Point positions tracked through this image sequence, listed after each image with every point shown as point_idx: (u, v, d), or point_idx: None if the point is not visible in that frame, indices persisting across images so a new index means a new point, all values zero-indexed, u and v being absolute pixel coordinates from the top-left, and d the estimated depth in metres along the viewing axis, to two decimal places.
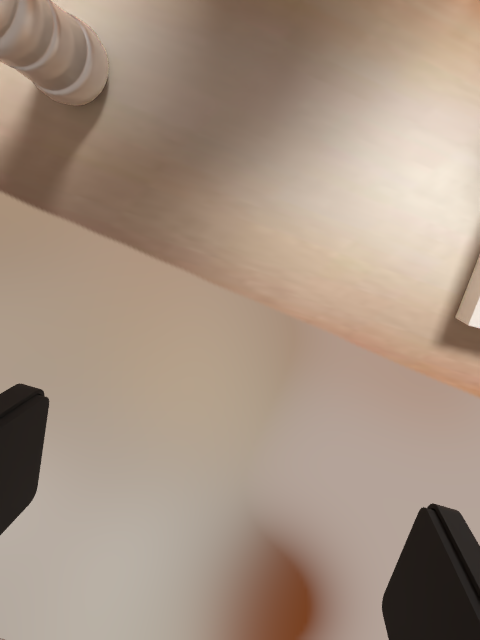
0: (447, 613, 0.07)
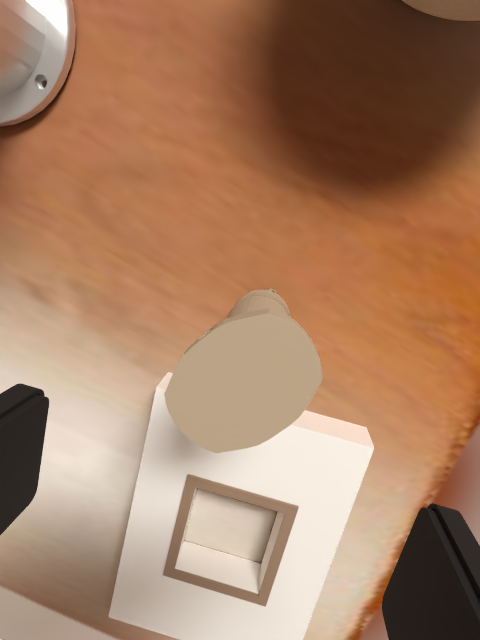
0: (447, 613, 0.07)
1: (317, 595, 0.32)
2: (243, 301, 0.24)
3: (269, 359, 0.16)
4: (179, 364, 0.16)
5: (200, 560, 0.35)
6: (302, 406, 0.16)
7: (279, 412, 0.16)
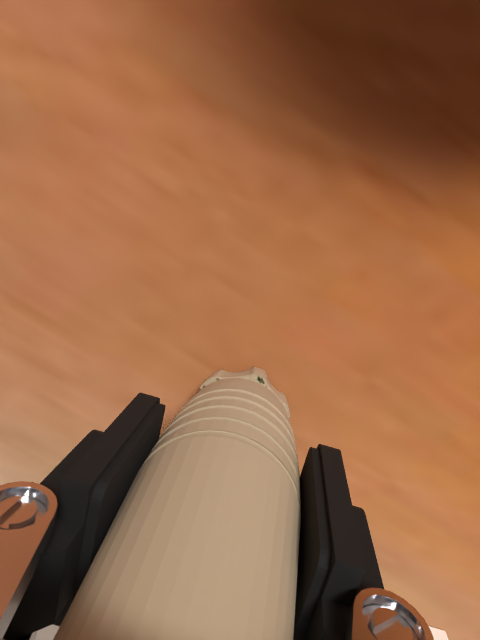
0: (306, 524, 0.09)
1: None
2: (168, 454, 0.09)
3: None
4: None
5: None
6: None
7: None
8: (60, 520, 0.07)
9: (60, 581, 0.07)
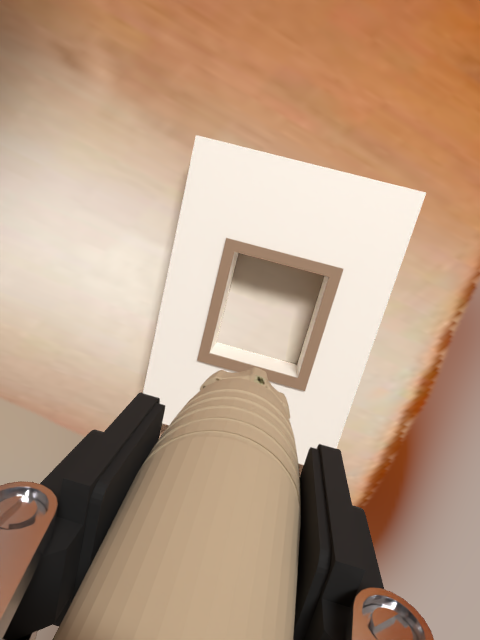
0: (306, 524, 0.09)
1: (360, 375, 0.31)
2: (168, 454, 0.09)
3: None
4: None
5: (234, 353, 0.33)
6: None
7: None
8: (60, 520, 0.07)
9: (60, 581, 0.07)
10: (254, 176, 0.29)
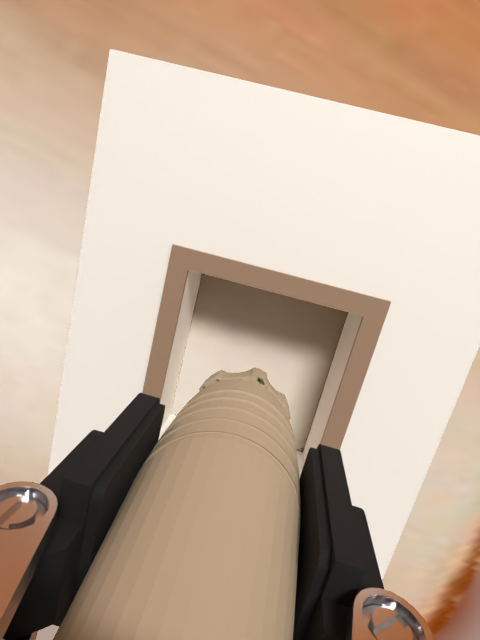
0: (306, 524, 0.09)
1: (416, 488, 0.17)
2: (168, 455, 0.09)
3: None
4: None
5: None
6: None
7: None
8: (60, 520, 0.07)
9: (60, 581, 0.07)
10: (222, 127, 0.15)
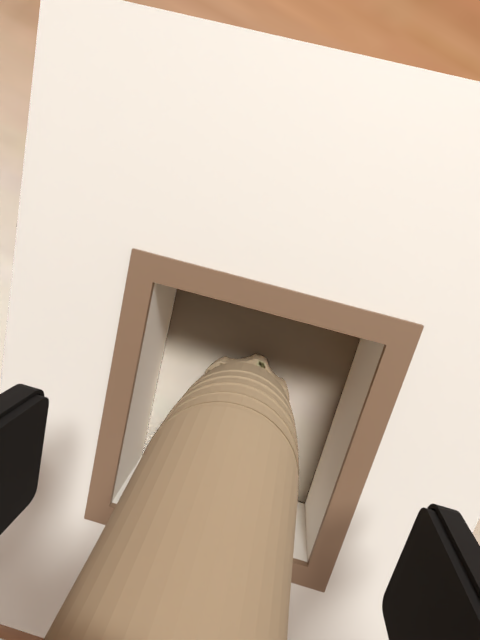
0: (447, 613, 0.07)
1: None
2: (179, 421, 0.10)
3: None
4: None
5: None
6: None
7: None
8: None
9: None
10: (196, 90, 0.11)
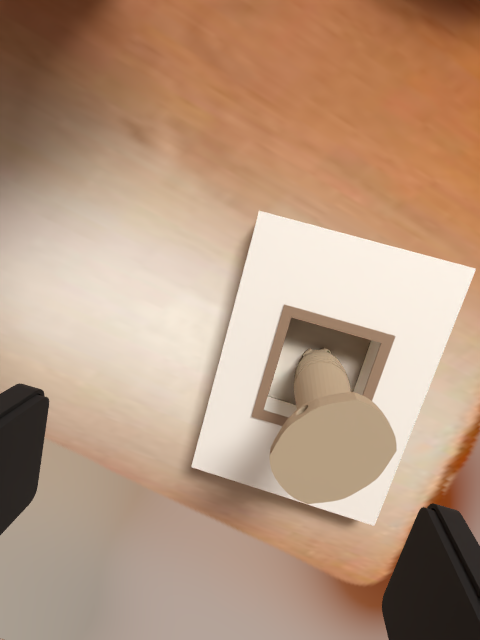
0: (447, 613, 0.07)
1: (408, 435, 0.32)
2: (311, 367, 0.29)
3: (355, 434, 0.20)
4: (283, 434, 0.21)
5: (285, 409, 0.35)
6: (379, 470, 0.21)
7: (360, 474, 0.21)
8: None
9: None
10: (313, 249, 0.31)
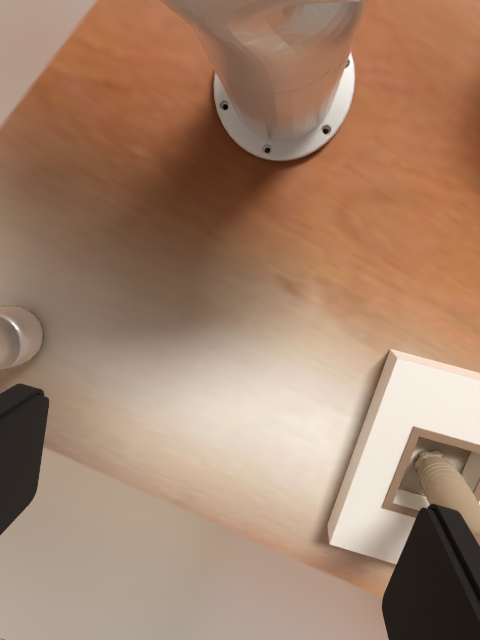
0: (447, 613, 0.07)
1: None
2: (444, 483, 0.38)
3: None
4: None
5: (405, 498, 0.44)
6: None
7: None
8: None
9: None
10: (439, 387, 0.39)
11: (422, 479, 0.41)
